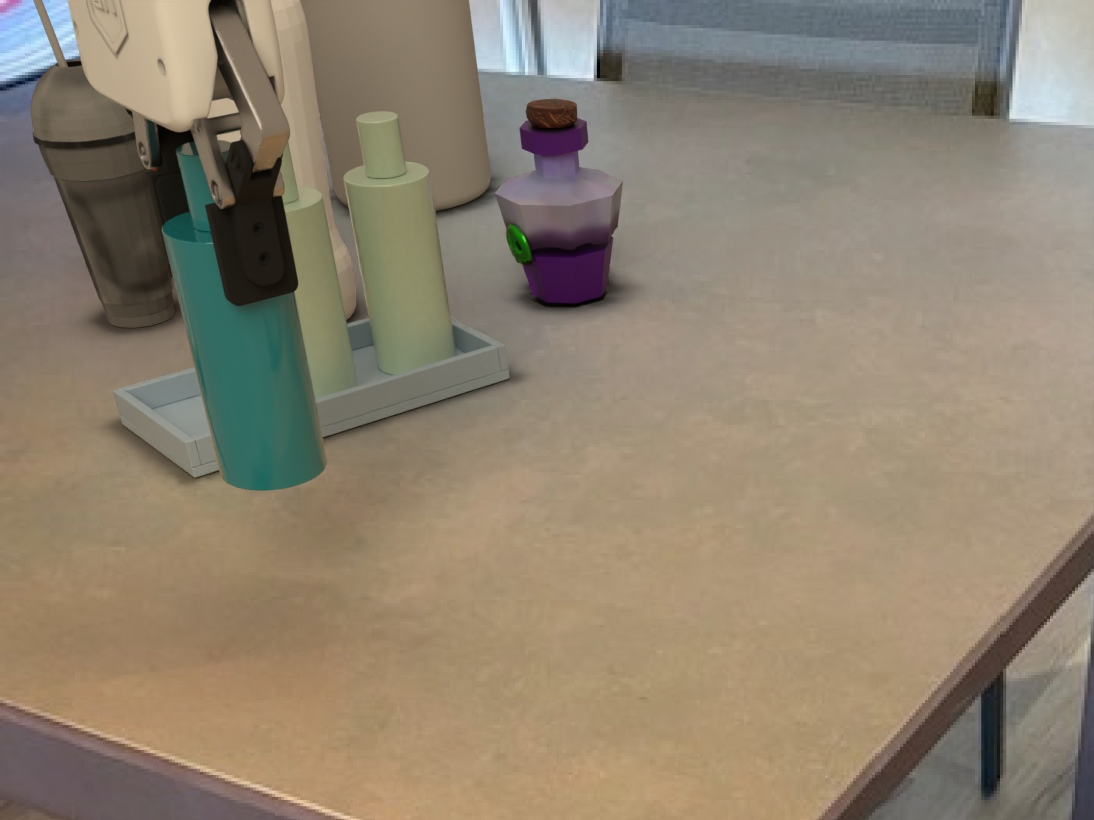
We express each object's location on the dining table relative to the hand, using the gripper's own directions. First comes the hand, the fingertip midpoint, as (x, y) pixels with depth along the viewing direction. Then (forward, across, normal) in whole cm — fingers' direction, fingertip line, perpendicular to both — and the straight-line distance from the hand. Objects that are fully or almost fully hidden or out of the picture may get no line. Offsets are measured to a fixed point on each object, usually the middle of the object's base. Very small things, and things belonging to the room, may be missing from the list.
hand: (232, 274), depth 72 cm
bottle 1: (+16, -35, +18) cm, 43 cm away
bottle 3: (+15, -21, +19) cm, 32 cm away
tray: (+16, -21, +12) cm, 29 cm away
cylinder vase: (+16, -54, +38) cm, 68 cm away
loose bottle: (+9, 0, 0) cm, 9 cm away
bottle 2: (+15, -21, +12) cm, 29 cm away
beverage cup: (+16, -43, +10) cm, 47 cm away
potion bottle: (+16, -26, +34) cm, 46 cm away
